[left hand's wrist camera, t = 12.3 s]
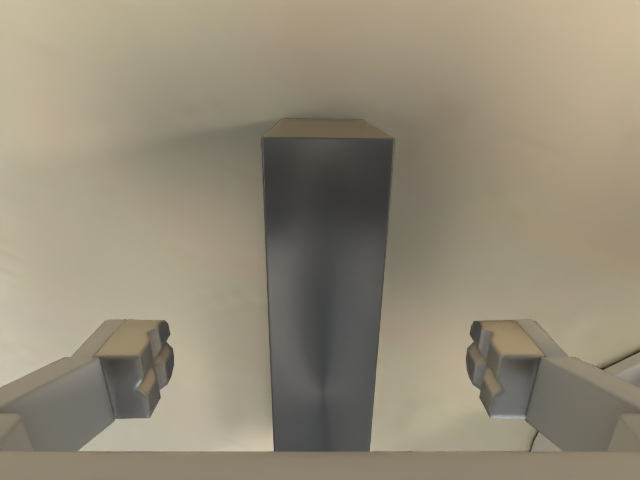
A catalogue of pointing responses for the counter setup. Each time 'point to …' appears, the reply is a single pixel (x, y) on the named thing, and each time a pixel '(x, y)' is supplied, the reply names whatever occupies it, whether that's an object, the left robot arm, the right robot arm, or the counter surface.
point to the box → (325, 277)
